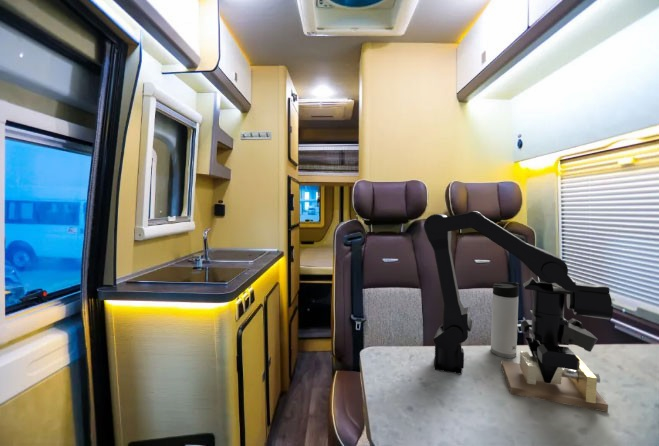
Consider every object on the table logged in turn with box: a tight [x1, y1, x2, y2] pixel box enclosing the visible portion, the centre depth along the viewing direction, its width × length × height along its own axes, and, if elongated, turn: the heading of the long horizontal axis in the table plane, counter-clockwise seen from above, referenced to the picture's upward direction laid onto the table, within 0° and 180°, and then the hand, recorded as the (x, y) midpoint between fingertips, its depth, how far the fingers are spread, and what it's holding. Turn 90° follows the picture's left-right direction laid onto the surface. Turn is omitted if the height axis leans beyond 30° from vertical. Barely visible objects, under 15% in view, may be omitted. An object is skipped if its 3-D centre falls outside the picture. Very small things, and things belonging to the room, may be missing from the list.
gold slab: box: [569, 354, 598, 403], centre depth 66 cm, size 2×10×5 cm, turn 160°
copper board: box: [500, 360, 609, 413], centre depth 70 cm, size 17×12×2 cm
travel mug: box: [490, 281, 521, 359], centre depth 85 cm, size 6×7×20 cm
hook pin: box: [519, 350, 601, 385], centre depth 68 cm, size 14×7×4 cm, turn 70°
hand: (544, 378), depth 69 cm, fingers closed on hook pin, 3 cm apart
